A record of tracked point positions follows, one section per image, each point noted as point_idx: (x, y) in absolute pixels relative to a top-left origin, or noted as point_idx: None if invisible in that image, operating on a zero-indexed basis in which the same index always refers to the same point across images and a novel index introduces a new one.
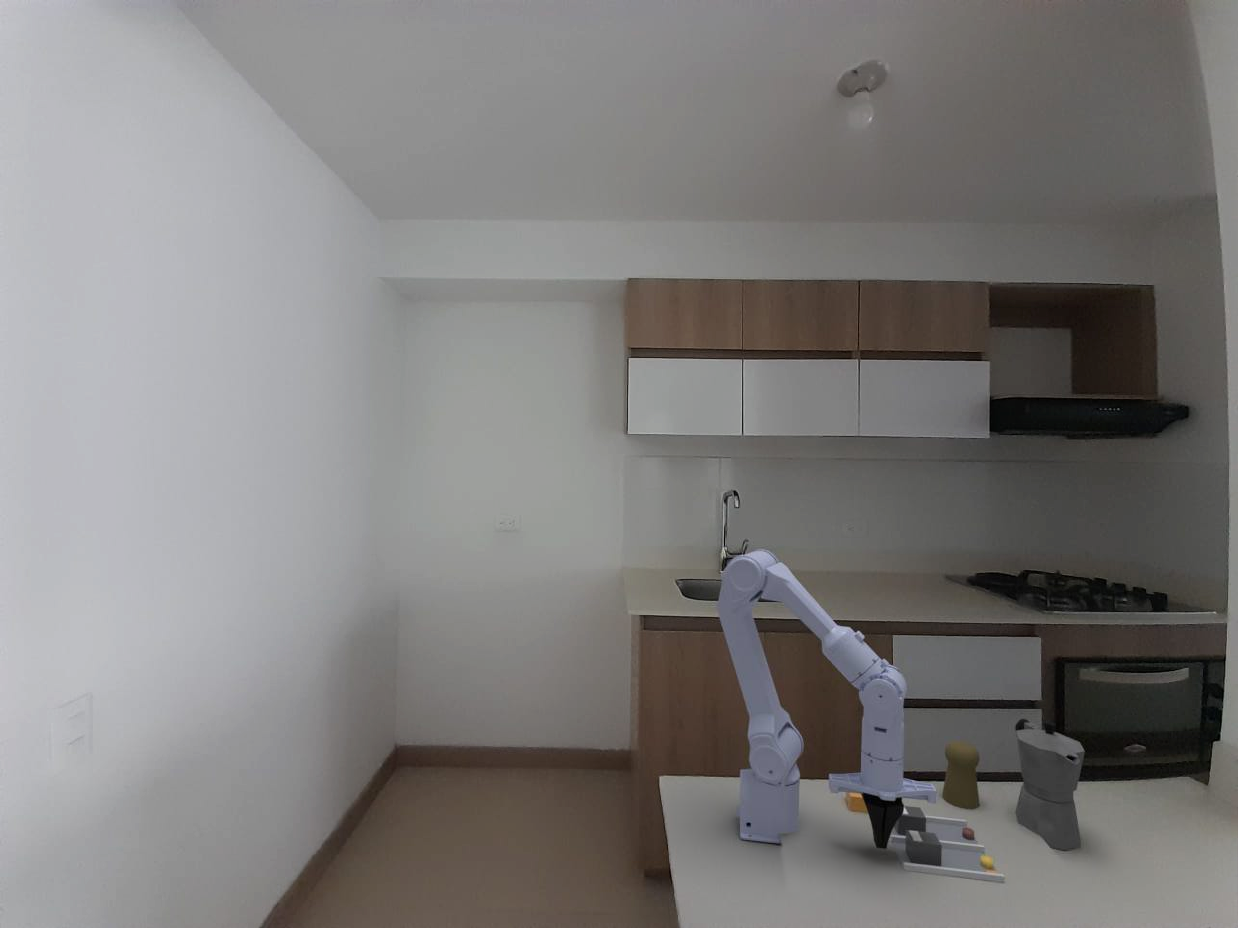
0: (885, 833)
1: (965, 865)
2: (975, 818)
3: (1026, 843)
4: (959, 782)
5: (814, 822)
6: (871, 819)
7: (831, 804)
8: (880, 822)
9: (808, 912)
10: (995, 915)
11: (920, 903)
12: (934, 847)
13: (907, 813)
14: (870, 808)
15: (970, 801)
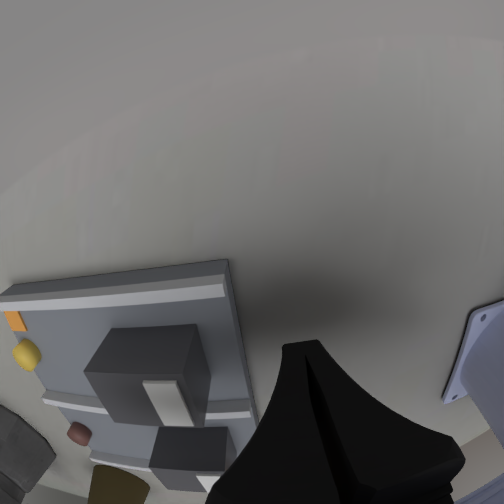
0: (300, 380)
1: (62, 343)
2: (97, 464)
3: (28, 418)
4: None
5: (410, 406)
6: (390, 409)
7: None
8: (341, 411)
9: (482, 56)
10: (20, 190)
11: (187, 154)
12: (108, 365)
13: (198, 476)
14: (449, 446)
15: (97, 487)
